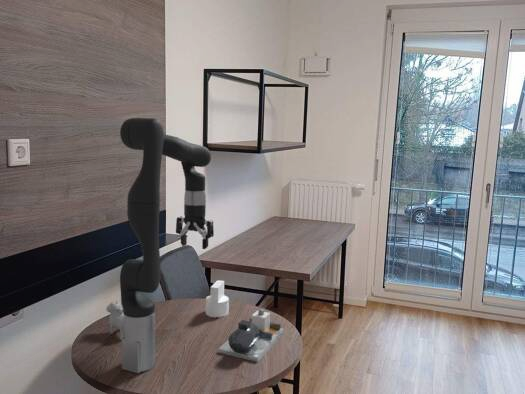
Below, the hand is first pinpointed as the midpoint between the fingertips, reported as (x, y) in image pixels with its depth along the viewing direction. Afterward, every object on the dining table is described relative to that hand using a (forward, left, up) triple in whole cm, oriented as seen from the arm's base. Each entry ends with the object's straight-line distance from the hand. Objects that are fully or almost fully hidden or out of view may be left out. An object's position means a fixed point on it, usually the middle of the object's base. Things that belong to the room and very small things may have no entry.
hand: (194, 247), depth 172 cm
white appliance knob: (+15, -2, -30) cm, 34 cm away
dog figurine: (-17, +20, -30) cm, 40 cm away
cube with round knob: (+5, -25, -28) cm, 38 cm away
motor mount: (-2, -25, -30) cm, 39 cm away
